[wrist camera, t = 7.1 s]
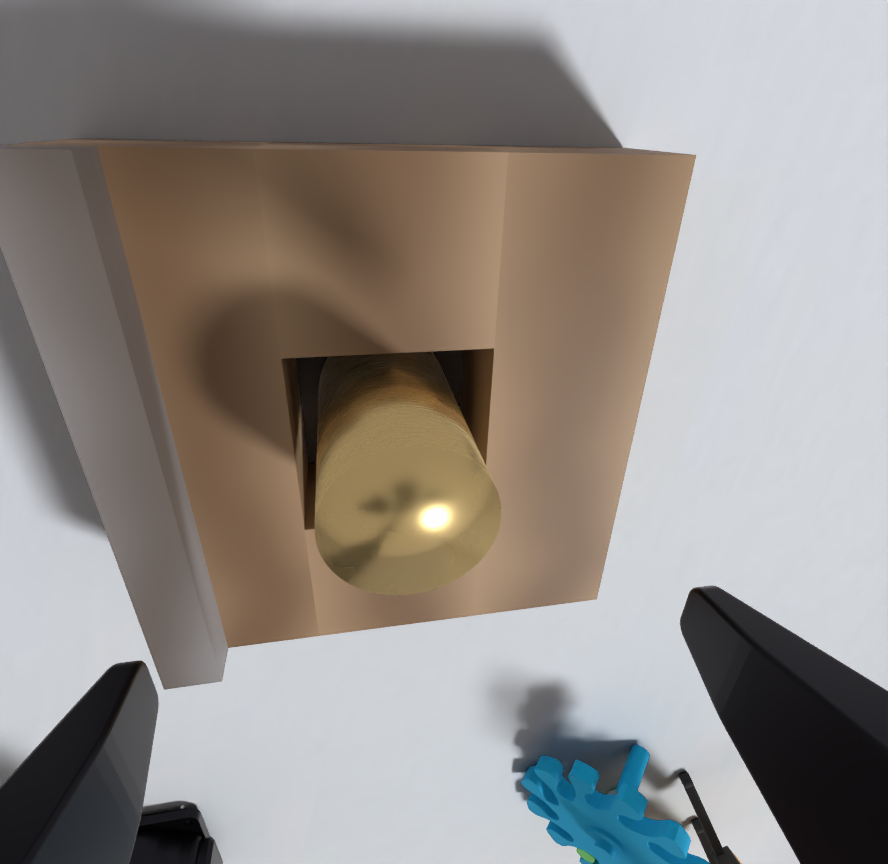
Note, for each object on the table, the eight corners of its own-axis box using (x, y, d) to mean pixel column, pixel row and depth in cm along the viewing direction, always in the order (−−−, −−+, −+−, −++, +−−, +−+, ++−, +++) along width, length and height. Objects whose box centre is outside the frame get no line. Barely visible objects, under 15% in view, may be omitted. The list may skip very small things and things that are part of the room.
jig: (197, 574, 20) (164, 689, 16) (76, 138, 13) (-37, 148, 9) (560, 534, 22) (611, 626, 18) (624, 148, 15) (729, 158, 11)
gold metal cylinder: (324, 446, 18) (323, 605, 12) (313, 331, 16) (304, 455, 10) (442, 437, 19) (495, 584, 13) (444, 325, 17) (508, 439, 11)
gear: (527, 750, 27) (743, 901, 22) (576, 658, 31) (768, 771, 26) (505, 827, 34) (667, 955, 29) (547, 744, 37) (696, 845, 33)
